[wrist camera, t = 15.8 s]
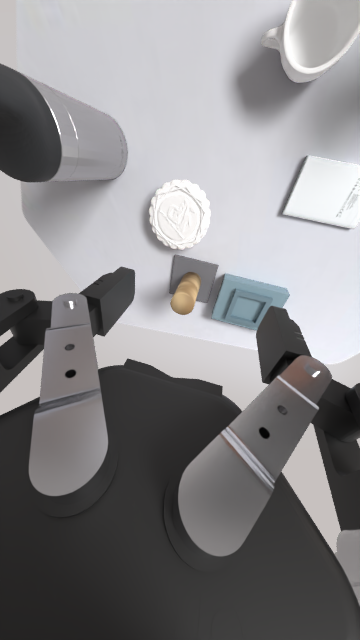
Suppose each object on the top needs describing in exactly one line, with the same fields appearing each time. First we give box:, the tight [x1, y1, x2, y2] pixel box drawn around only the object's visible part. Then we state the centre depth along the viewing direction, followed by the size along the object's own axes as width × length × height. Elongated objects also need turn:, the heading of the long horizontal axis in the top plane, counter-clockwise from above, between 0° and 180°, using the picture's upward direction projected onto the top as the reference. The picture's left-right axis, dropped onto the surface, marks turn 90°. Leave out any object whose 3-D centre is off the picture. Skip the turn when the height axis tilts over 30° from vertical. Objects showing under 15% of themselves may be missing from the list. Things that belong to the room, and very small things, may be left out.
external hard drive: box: [282, 155, 360, 229], centre depth 32 cm, size 2×8×12 cm
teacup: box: [261, 0, 360, 83], centre depth 23 cm, size 10×8×5 cm
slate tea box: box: [212, 274, 290, 330], centre depth 45 cm, size 14×11×4 cm
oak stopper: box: [171, 272, 201, 315], centre depth 42 cm, size 5×5×11 cm
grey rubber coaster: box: [169, 255, 218, 303], centre depth 47 cm, size 10×10×1 cm
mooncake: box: [149, 180, 211, 250], centre depth 38 cm, size 12×12×4 cm
